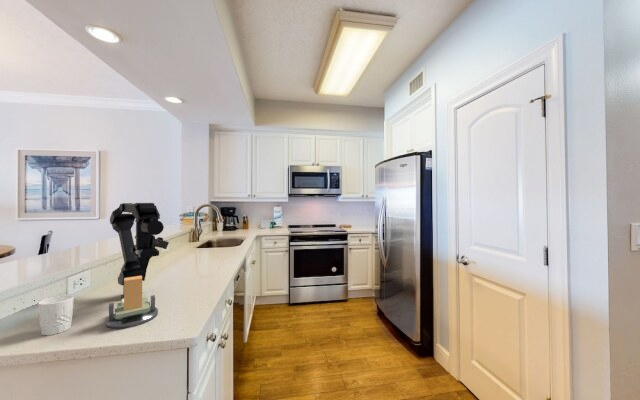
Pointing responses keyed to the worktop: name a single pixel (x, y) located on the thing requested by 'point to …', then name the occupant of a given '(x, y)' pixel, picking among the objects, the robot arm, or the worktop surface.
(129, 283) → the orange and green block
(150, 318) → the base
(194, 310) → the worktop surface
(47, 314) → the white cup
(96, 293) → the worktop surface
